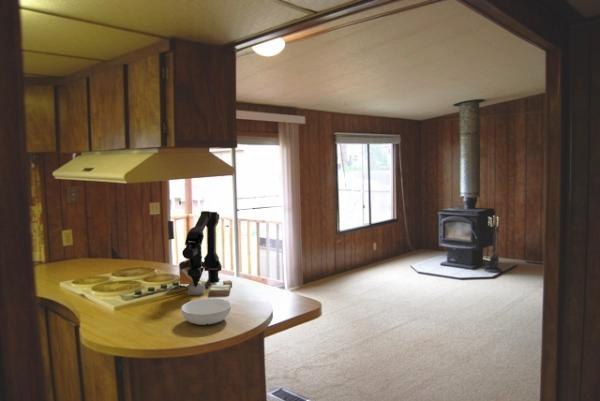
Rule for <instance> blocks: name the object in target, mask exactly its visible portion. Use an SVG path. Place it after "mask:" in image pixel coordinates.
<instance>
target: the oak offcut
mask: <svg viewBox="0 0 600 401" xmlns="http://www.w3.org/2000/svg"><path fill="white" fill-rule="evenodd" d="M222 285H229V286H230V288H233V280H230V279H229V280H223V281H222Z"/></svg>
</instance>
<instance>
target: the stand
mask: <svg viewBox="0 0 600 401" xmlns="http://www.w3.org/2000/svg"><path fill="white" fill-rule="evenodd" d="M231 289H232V287H230V286H229V285H223V284H214V285H213V284H212V285H211V287H210V289H209V290H208V291H209V292H208V294H209V295H208V296H209V297H216V296H217V297H220V296H222V297H223V296H224V297H225V296H230V295H231V294H230V293H231V291H232V290H231Z"/></svg>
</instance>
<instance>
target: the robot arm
mask: <svg viewBox="0 0 600 401" xmlns="http://www.w3.org/2000/svg"><path fill="white" fill-rule="evenodd" d="M219 220H220V213H218V212H217V211H210V210H202V211H200V216H199V217H198V220H197V222H196V223H195V225H194V227H191V228H190V230H189V231H188V232H187V234H186V238H185V242H184V245H185V248H184V249H183V250H182V252H181V253H182V257H184V259H186V260H184V261H181V263H180V262H179V264H178V266H179V268H181V270H183V269H184V268H187V267H189V268H190V269H189V270H188V275H189V276H190V277H191V278H192V280H193V283H194V287H197V284H198V283H200V281H201V277H202V274H203V272H206V271H207V276H208V278H207V281H206V282H207V283H219V282H220V280H221V279H220V277H219V272H221V271H222V269H223V268H222V267H223V266H222V264H221V262H220V257H219V255H218V253H217V251H216V250H217V245H216V244H217V238H216V237H217V234H216V233H217V232H216V231H217V230H216V228H217V226H218V224H219ZM205 227H206V232H207V233H206V239H207V240H206V242H207V244H206V245H207V247H206V248H207V249H206V250H207V252H206V255H205V256H204V257H203V255H202V245H203V241H204V236H205V235H204V230H205Z"/></svg>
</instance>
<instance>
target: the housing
mask: <svg viewBox="0 0 600 401" xmlns="http://www.w3.org/2000/svg"><path fill="white" fill-rule="evenodd" d="M187 291H188V292H187V293H188V294H187V295H188V296H193V295H194V296H197V295H202V296H203V295H205V293H206V283H205V282H202V283H201V282H198V284H197V287H194V283H190V284H189V285H188V287H187Z"/></svg>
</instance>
